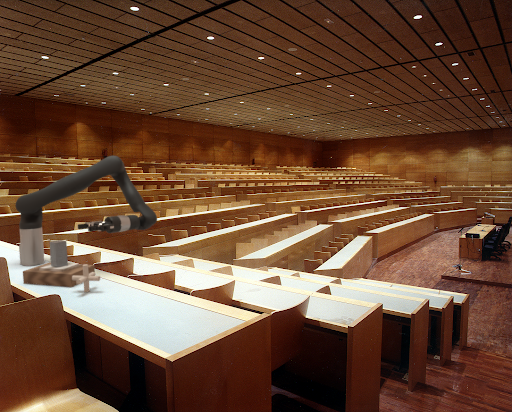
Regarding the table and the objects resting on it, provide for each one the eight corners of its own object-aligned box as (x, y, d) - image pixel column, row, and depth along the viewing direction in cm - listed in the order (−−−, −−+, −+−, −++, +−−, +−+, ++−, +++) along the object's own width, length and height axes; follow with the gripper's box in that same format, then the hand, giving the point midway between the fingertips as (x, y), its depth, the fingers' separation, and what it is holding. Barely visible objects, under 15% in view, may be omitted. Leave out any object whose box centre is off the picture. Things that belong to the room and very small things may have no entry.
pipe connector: (106, 287, 143) (105, 261, 142) (92, 296, 133) (91, 268, 132) (81, 286, 144) (80, 261, 143) (66, 295, 134) (64, 268, 133)
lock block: (51, 265, 152) (49, 241, 151) (62, 263, 156) (60, 239, 155) (56, 267, 149) (54, 242, 148) (67, 265, 153) (66, 241, 152)
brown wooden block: (23, 283, 149) (22, 268, 148) (50, 273, 162) (49, 260, 162) (71, 287, 144) (70, 271, 143) (94, 276, 157) (94, 262, 157)
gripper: (108, 214, 176) (74, 217, 164) (126, 217, 168) (91, 220, 155) (108, 230, 177) (75, 234, 164) (126, 233, 169) (92, 238, 156)
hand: (83, 228), depth 160 cm, fingers open, 8 cm apart
